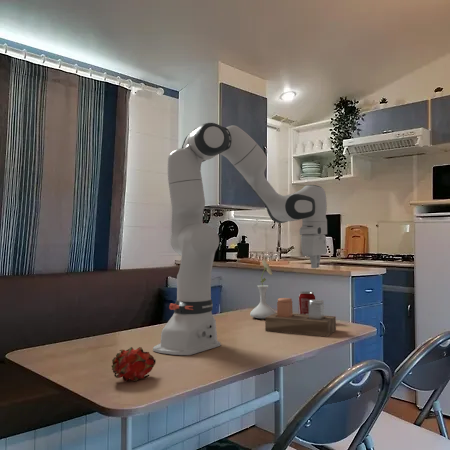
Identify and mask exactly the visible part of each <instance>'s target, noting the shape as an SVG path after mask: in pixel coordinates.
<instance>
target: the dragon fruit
mask: <svg viewBox="0 0 450 450" xmlns="http://www.w3.org/2000/svg"><path fill="white" fill-rule="evenodd" d="M111 361H112V363H111V364H112V365H111V370H112V372H113V374H114V378H116V379H120V378H122V381H123V382H125V381H126V382H127V381H128V380H131V381H133V382H137V381H138V380H139V379H140V380H141V379H142V380H146V379H148V378H149V377H150V374H149V373H150V372H152V370H153V368H154V367H155V365H156V361H157V360H156V359H155V357H154V356H153V355H151V353H150V352H149V351H145V350H143V348H142V347H141V346H139V347H137V348H136V349H134V348H133V347H132V346H131V347H129V348H128V349H126V350H125V349H120V350H119V352H117V353H116V354H115V356H114V357H113V359H111Z"/></svg>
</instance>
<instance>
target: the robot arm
mask: <svg viewBox="0 0 450 450" xmlns="http://www.w3.org/2000/svg"><path fill="white" fill-rule="evenodd" d="M218 155H221V156H223V157H224V158H226V159H227V160H228V161H229V162H230V163H231V164H232V166H233V167H234V168H235V169H236V170H237V171H238V172H239V174H240V175H241V176H242V177H243V178H244V180H245V181H246V182H247V184H248V185H249V187H250V188H251V189H252V190H253V192H254V193H255V194H256V196H257V197H258V198H259V200H260V201H261V202H262V203H263V205H264V206H265V209H266V211H267V214H268V216H269V217H270V219H271V220H272V221H273V222H275V223H277V224H284V223H287V222H294V221H300V220H301V221H302V223H301V224H302V226H301V227H299V235H300V243H301V244H300V245H301V254H302V256H303V257H309V261H310V268H312V269H317V268H318V269H319V268H320V263H321V256H323V255H326V254H328V253H327V252H328V249H327V236H326V235H328V219H327V215H326V214H327V211H328V208H327V206H328V203H327V195H326V191H325V189H324V188H323V187H322V186H320V185H314V184H306V185H304V186H303V188H301V189H300V190H297V191H296V192H293V193H290V194H286V195H283V194H279V193H278V192H277V191H276V190H275V188H274V187H273V186H272V185H271V183H270V182H269V181H268V179H267V178H266V176H265V175H266V174H265V171H266V169H267V166H268V158H267V157H268V156H266V154H265V152H264V150H263V149H262V148H261V146H260V145H259V144H258V142H256V141H255V139H253V138H252V137H251V136H250V135H249V134H248V133H247V132H246V131H244V130H243V129H242V128H241V127H239V126H238V125H232V124H231V125H228V126H226V127H224V126H222V125H220V124H218V123H214V122H207V123H206V122H205V123H202V124H200V126H198V127H195V128H194V129H193V130H192V131H191V132H189V134H188V135H187V136H186V137H185V138H184V141H183V143H182V146H181V147H180V148H177V149H174V150H173V151H172V152H170V153H169V155H168V157H167V182H168V188H169V195H170V204H171V235H170V241H169V242H170V245H171V246H170V247H171V248H172V250H174V252H175V253H176V254H177V255H179V256H181V259H180V265H179V270H178V273H177V275H176V300H175V303H169V305H168V306H169V310H171V311H172V310H173V314H172V316H171V317H170V318H169V320H168V321H167V323H166V324H165V326H164V327H163V328H162V330H161V334H160V343H158V344H157V345H154V346H153V348H152V351H153V352H156V353H160V354H165V355H166V354H167V355H172V356H173V355H174V356H191V355H195V354H199V353H201V352H205V351H207V350H211V349H214V348H218V347H220V346H221V342H220V341H219V340H218V334H217V333H218V332H217V322H216V318H215V317H214V315H213V313H212V311H213V300H212V298H211V297H212V294H211V293H212V291H211V290H212V289H211V288H212V284H211V283H212V282H211V281H212V271H213V270H212V269H213V265H214V260H215V255H216V252H217V250H218V247H219V245H220V236H219V234H218V231H216V229H214V227H212V226H210V225H208V224H206V223H203V217H204V211H205V207H206V200H205V193H204V185H203V177H202V172H201V171H202V169H201V167H202V164H203V163H204V162H205V161H208V160H209V161H210V160H211V159H214V158H215V157H216V156H218Z"/></svg>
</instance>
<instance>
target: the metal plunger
mask: <svg viewBox="0 0 450 450" xmlns="http://www.w3.org/2000/svg"><path fill="white" fill-rule="evenodd" d="M324 316H325V304H324V300H323V299H315V300H309V319H316V320H323V319H324Z"/></svg>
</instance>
